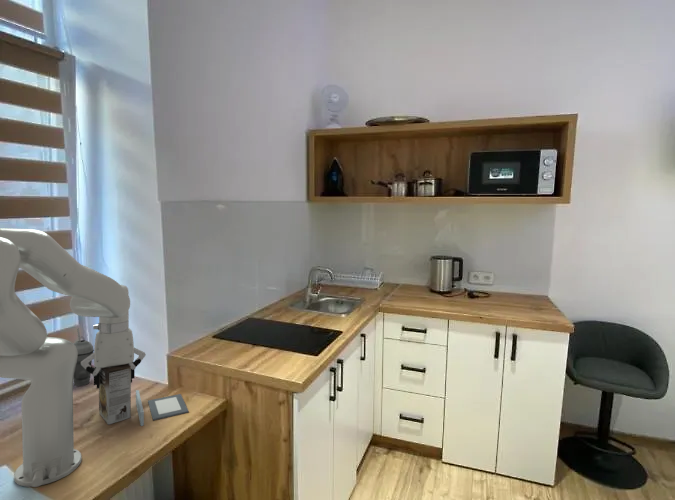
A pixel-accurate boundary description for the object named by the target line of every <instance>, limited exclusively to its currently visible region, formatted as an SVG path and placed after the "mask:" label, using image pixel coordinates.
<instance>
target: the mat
mask: <svg viewBox="0 0 675 500" xmlns="http://www.w3.org/2000/svg"><path fill="white" fill-rule="evenodd" d="M147 403H148V407H149V410H150V414H151V417H152V421H158V420H162V419H167V418H170V417H174V416H178V415H179V416H180V415H183V414H187V413H189V408H188V406H187V404H186V402H185V399H184V398H183V396H182V393H177V394H173V395H169V396H168V395H167V396H163V397H158V398H154V399H150V400H147Z"/></svg>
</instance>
